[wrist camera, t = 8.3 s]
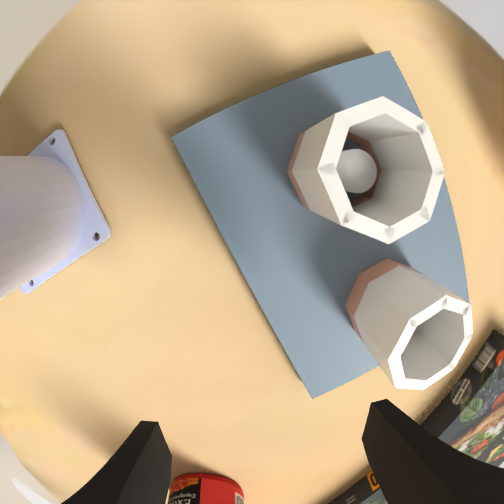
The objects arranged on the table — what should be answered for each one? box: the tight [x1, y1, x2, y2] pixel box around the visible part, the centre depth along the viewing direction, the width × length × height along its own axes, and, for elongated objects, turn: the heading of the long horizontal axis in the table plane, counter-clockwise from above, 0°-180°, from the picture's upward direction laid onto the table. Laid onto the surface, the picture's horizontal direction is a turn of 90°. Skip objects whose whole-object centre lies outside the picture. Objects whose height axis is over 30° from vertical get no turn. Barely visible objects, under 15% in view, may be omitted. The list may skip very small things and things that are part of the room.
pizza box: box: [328, 329, 504, 504], centre depth 26 cm, size 35×35×4 cm
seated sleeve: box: [345, 258, 473, 390], centre depth 14 cm, size 5×5×6 cm
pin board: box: [171, 51, 469, 399], centre depth 16 cm, size 14×19×4 cm
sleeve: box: [286, 96, 445, 244], centre depth 12 cm, size 5×5×6 cm
